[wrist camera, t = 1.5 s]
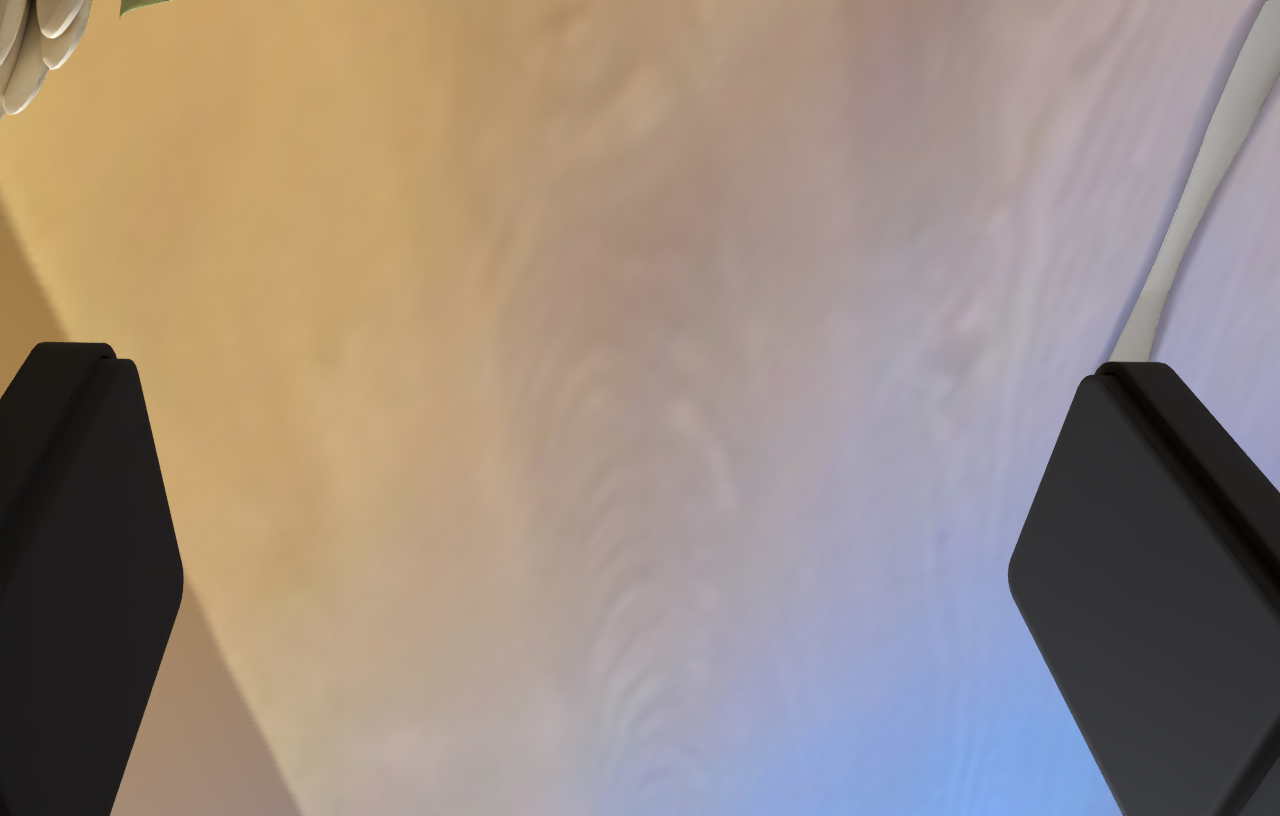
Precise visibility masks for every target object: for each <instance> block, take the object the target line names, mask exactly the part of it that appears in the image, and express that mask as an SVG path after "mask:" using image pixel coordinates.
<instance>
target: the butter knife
mask: <svg viewBox="0 0 1280 816" xmlns="http://www.w3.org/2000/svg"><path fill="white" fill-rule="evenodd" d="M1279 73H1280V0H1267V1H1266V2H1265V4H1264V6H1263V8H1262V10H1261V11H1260V13H1259V15H1258V17H1257V19H1256V21H1255V23H1254V25H1253V27H1252V29H1251V31H1250V33H1249V35H1248V37H1247V39H1246V41H1245V43H1244V45H1243V48H1242V50H1241V52H1240V54H1239V56H1238V59H1237V61H1236V63H1235V66H1234V68H1233V70H1232V73H1231V75H1230V77H1229V79H1228V82H1227V84H1226V86H1225V89H1224V91H1223V93H1222V96H1221V98H1220V100H1219V103H1218V105H1217V107H1216V110H1215V112H1214V114H1213V117H1212V119H1211V122H1210V124H1209V126H1208V129H1207V131H1206V134H1205V137H1204V139H1203V142H1202V145H1201V148H1200V150H1199V153H1198V156H1197V159H1196V161H1195V164H1194V167H1193V169H1192V172H1191V174H1190V177H1189V180H1188V182H1187V185H1186V187H1185V190H1184V193H1183V195H1182V197H1181V200H1180V202H1179V205H1178V207H1177V210H1176V212H1175V214H1174V217H1173V219H1172V222H1171V224H1170V227H1169V229H1168V231H1167V234H1166V236H1165V239H1164V241H1163V244H1162V246H1161V249H1160V251H1159V253H1158V256H1157V258H1156V260H1155V262H1154V265H1153V267H1152V269H1151V271H1150V274H1149V276H1148V278H1147V281H1146V283H1145V285H1144V288H1143V290H1142V292H1141V294H1140V296H1139V298H1138V300H1137V302H1136V305H1135V307H1134V309H1133V311H1132V313H1131V315H1130V317H1129V319H1128V321H1127V323H1126V326H1125V328H1124V330H1123V332H1122V334H1121V336H1120V338H1119V340H1118V342H1117V344H1116V346H1115V348H1114V351H1113V353H1112V355H1111V357H1110V359H1109V361H1108V362H1110V361H1119V362H1148V359H1149V356H1150V352H1151V349H1152V345H1153V341H1154V338H1155V334H1156V330H1157V327H1158V323H1159V320H1160V316H1161V312H1162V310H1163V307H1164V305H1165V302H1166V299H1167V297H1168V294H1169V292H1170V288H1171V285H1172V283H1173V280H1174V278H1175V275H1176V272H1177V270H1178V267H1179V265H1180V262H1181V259H1182V257H1183V254H1184V252H1185V250H1186V248H1187V246H1188V244H1189V242H1190V240H1191V238H1192V236H1193V234H1194V232H1195V230H1196V228H1197V226H1198V224H1199V222H1200V220H1201V218H1202V216H1203V214H1204V212H1205V210H1206V208H1207V206H1208V204H1209V202H1210V200H1211V198H1212V196H1213V194H1214V192H1215V191H1216V189H1217V187H1218V185H1219V184H1220V182H1221V180H1222V178H1223V177H1224V175H1225V173H1226V171H1227V170H1228V168H1229V166H1230V164H1231V163H1232V161H1233V159H1234V158H1235V156H1236V154H1237V152H1238V151H1239V149H1240V147H1241V146H1242V144H1243V142H1244V140H1245V139H1246V137H1247V135H1248V133H1249V131H1250V129H1251V127H1252V125H1253V124H1254V122H1255V120H1256V118H1257V116H1258V114H1259V112H1260V110H1261V108H1262V106H1263V104H1264V102H1265V100H1266V98H1267V96H1268V94H1269V92H1270V90H1271V88H1272V87H1273V85H1274V83H1275V81H1276V79H1277V77H1278V75H1279Z"/></svg>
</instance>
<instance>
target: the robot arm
mask: <svg viewBox="0 0 1280 816" xmlns="http://www.w3.org/2000/svg"><path fill="white" fill-rule="evenodd" d="M183 581H184V580H183V567H182V562H181V557H180V553H179V549H178V544H177V540H176V535H175V531H174V527H173V522H172V518H171V514H170V509H169V505H168V500H167V496H166V492H165V487H164V483H163V479H162V474H161V470H160V465H159V461H158V457H157V452H156V448H155V444H154V439H153V435H152V430H151V426H150V422H149V417H148V413H147V409H146V404H145V400H144V395H143V391H142V387H141V382H140V378H139V374H138V370H137V367H136V365H135V364H134V362H133V361H132V360H130V359H117V357H116V354H115V352H114V351H113V349H112V347H111V346H110V345H108V344H106V343H76V342H42V343H39V344H37V345H36V346H35V348H34V349H32V351H31V353H30V354H29V356H28V357H27V359H26V360H25V362H24V364H23V365H22V366H21V368H20V369H19V371H18V373H17V374H16V376H15V377H14V379H13V380H12V382H11V383H10V385H9V387H8V388H7V390H6V391H5V393H4V394H3V396H2V397H1V399H0V816H110V813H111V810H112V807H113V804H114V801H115V798H116V795H117V792H118V789H119V786H120V783H121V780H122V777H123V774H124V771H125V768H126V765H127V762H128V759H129V756H130V753H131V750H132V747H133V744H134V741H135V738H136V735H137V732H138V729H139V726H140V723H141V721H142V718H143V715H144V711H145V709H146V706H147V703H148V700H149V697H150V694H151V691H152V687H153V684H154V682H155V678H156V676H157V673H158V670H159V667H160V664H161V661H162V658H163V655H164V652H165V648H166V646H167V643H168V640H169V636H170V634H171V631H172V628H173V625H174V622H175V619H176V616H177V613H178V610H179V607H180V603H181V599H182V593H183ZM1008 582H1009V587H1010V591H1011V594H1012V597H1013V599H1014V601H1015V603H1016V605H1017V607H1018V609H1019V611H1020V613H1021V615H1022V617H1023V619H1024V621H1025V623H1026V625H1027V626H1028V628H1029V630H1030V632H1031V634H1032V636H1033V638H1034V640H1035V642H1036V644H1037V646H1038V648H1039V650H1040V652H1041V654H1042V656H1043V658H1044V660H1045V662H1046V664H1047V666H1048V668H1049V670H1050V672H1051V674H1052V676H1053V678H1054V680H1055V682H1056V684H1057V686H1058V688H1059V690H1060V692H1061V694H1062V696H1063V698H1064V700H1065V702H1066V704H1067V706H1068V708H1069V710H1070V712H1071V714H1072V716H1073V718H1074V720H1075V721H1076V723H1077V725H1078V727H1079V729H1080V731H1081V733H1082V735H1083V737H1084V739H1085V741H1086V743H1087V745H1088V747H1089V749H1090V751H1091V753H1092V755H1093V757H1094V759H1095V761H1096V763H1097V765H1098V767H1099V769H1100V771H1101V773H1102V775H1103V777H1104V779H1105V781H1106V783H1107V785H1108V787H1109V789H1110V791H1111V793H1112V795H1113V797H1114V799H1115V801H1116V803H1117V805H1118V807H1119V809H1120V811H1121V813H1122V815H1123V816H1280V492H1279V491H1278V490H1277V489H1276V488H1275V487H1274V486H1273V484H1272V483H1271V482H1270V481H1269V480H1268V479H1267V478H1266V476H1265V475H1264V474H1263V473H1262V472H1261V471H1260V469H1259V468H1258V467H1257V466H1256V465H1255V464H1254V463H1253V461H1252V460H1251V459H1250V458H1249V457H1248V456H1247V454H1246V453H1245V452H1244V451H1243V450H1242V449H1241V448H1240V446H1239V445H1238V444H1237V443H1236V442H1235V441H1234V439H1233V438H1232V437H1231V436H1230V435H1229V434H1228V433H1227V431H1226V430H1225V429H1224V428H1223V427H1222V426H1221V424H1220V423H1219V422H1218V421H1217V420H1216V419H1215V418H1214V416H1213V415H1212V414H1211V413H1210V412H1209V411H1208V409H1207V408H1206V407H1205V406H1204V405H1203V404H1202V403H1201V401H1200V400H1199V399H1198V398H1197V397H1196V396H1195V394H1194V393H1193V392H1192V391H1191V390H1190V389H1189V388H1188V386H1187V385H1186V384H1185V383H1184V382H1183V381H1182V379H1181V378H1180V377H1179V376H1178V375H1177V374H1176V373H1175V371H1174V370H1173V369H1172V368H1170V367H1169V366H1168V365H1167V364H1164V363H1159V362H1119V361H1110V362H1107V363H1104V364H1102V365H1101V366H1100V367H1099V368H1098V369H1097V371H1096V373H1095V374H1094V375H1089V376H1086V377H1085V378H1084V379H1083V380H1082V381H1081V383H1080V385H1079V386H1078V388H1077V391H1076V394H1075V396H1074V399H1073V401H1072V404H1071V406H1070V409H1069V411H1068V414H1067V416H1066V419H1065V422H1064V424H1063V427H1062V429H1061V432H1060V434H1059V437H1058V439H1057V442H1056V445H1055V447H1054V450H1053V452H1052V455H1051V457H1050V460H1049V462H1048V465H1047V468H1046V470H1045V473H1044V475H1043V478H1042V480H1041V483H1040V485H1039V488H1038V490H1037V493H1036V496H1035V498H1034V501H1033V503H1032V506H1031V508H1030V511H1029V513H1028V516H1027V519H1026V521H1025V524H1024V526H1023V529H1022V531H1021V534H1020V536H1019V539H1018V541H1017V544H1016V547H1015V549H1014V552H1013V554H1012V557H1011V559H1010V563H1009V569H1008Z"/></svg>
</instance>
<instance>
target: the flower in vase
mask: <svg viewBox="0 0 1280 816" xmlns="http://www.w3.org/2000/svg"><path fill="white" fill-rule="evenodd" d="M167 1H171V0H122V1H121V8H120V18H121V17H122V16H123V15H124V14H125V13H127V12H129V11H131V10H134V9H137V8H140V7H144V6H149V5H153V4H158V3H163V2H167ZM91 4H92V0H0V121H1V120H2V118H3V116H4V114H5V112H7V113H8V114H9V115H10V114H17V113H19V112H20V111H22V110H23V109H24V108H25V107H26V106H27V105H28V104H29V103H30V101H31V100H32V99H33V98H34V96H35V95H36V94H37V93H38V91H39V90H40V88H41V86H42V84H43V82H44V80H45V78H46V75H47V73H48V71H49V68H50V69H57V68H59V67H60V66H61V65H63V63H64V62H65V61H66V60H67V59H68V57H69V56H70V55H71V53H72V52H73V51H74V49H75V48H76V46H77V45H78V43H79V41H80V39H81V38H82V36H83V33H84V30H85V28H86V25H87V22H88V19H89V15H90V10H91Z"/></svg>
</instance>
